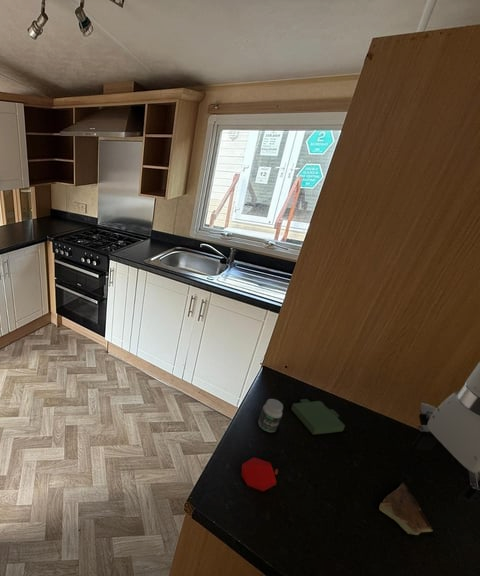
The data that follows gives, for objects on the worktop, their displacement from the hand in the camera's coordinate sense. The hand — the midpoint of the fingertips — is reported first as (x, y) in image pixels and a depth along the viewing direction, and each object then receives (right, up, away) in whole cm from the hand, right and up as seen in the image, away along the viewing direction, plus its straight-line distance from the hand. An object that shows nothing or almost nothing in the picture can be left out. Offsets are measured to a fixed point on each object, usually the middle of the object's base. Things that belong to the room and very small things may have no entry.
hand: (441, 471), depth 58 cm
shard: (+2, -15, +11) cm, 19 cm away
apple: (-26, -12, +16) cm, 33 cm away
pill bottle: (-16, -5, +30) cm, 34 cm away
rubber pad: (-1, -4, +32) cm, 32 cm away
